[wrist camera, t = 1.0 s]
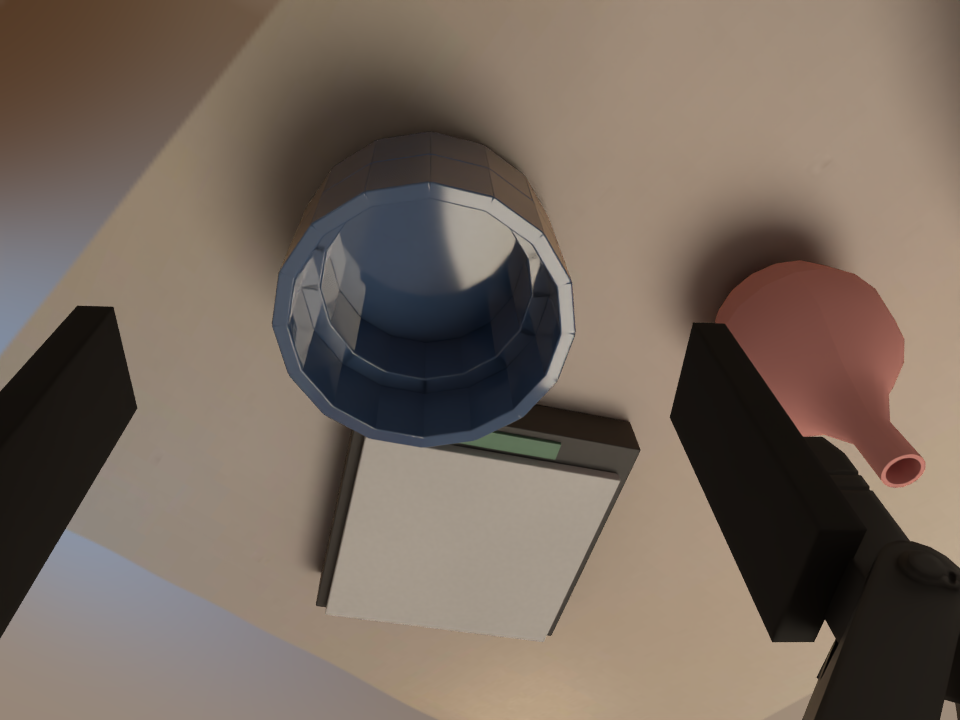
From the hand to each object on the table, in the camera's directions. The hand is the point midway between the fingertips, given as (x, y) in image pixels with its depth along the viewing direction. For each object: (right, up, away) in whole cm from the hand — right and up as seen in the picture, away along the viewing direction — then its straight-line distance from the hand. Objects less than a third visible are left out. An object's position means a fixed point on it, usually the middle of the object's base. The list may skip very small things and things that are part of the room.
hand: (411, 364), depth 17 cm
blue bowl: (-1, +5, +16) cm, 17 cm away
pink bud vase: (+16, +3, +19) cm, 25 cm away
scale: (+1, -8, +25) cm, 26 cm away
